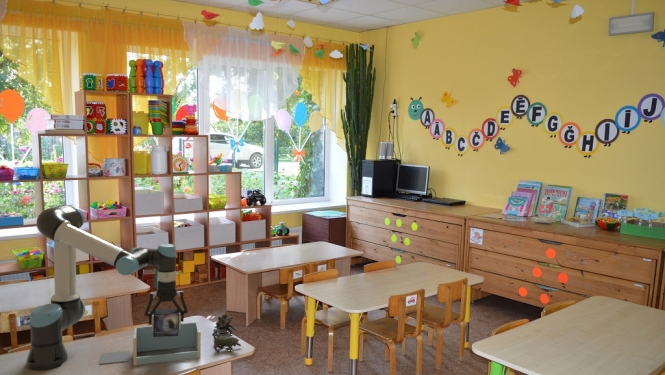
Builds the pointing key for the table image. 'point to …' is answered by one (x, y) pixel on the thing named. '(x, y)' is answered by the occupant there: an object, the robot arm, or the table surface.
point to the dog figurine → (225, 343)
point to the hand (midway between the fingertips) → (166, 329)
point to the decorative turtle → (224, 325)
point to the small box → (166, 322)
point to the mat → (114, 357)
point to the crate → (166, 344)
